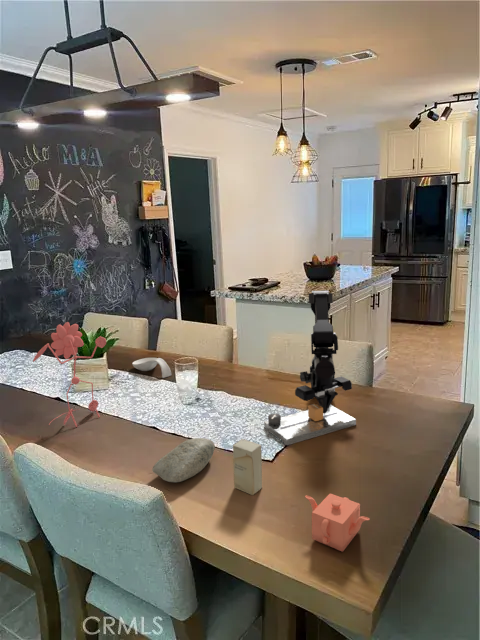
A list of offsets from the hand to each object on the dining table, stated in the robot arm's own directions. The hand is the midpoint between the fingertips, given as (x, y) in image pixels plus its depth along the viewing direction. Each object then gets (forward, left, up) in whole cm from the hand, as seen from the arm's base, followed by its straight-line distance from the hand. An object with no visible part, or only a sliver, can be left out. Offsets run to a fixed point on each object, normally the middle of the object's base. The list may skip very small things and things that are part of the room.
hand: (324, 412), depth 157 cm
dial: (+16, -4, -1) cm, 17 cm away
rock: (+49, +5, -4) cm, 50 cm away
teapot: (+31, +47, -4) cm, 56 cm away
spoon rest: (+34, -83, -4) cm, 90 cm away
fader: (+3, 0, -1) cm, 3 cm away
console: (+6, 0, -3) cm, 7 cm away
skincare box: (+39, +21, -4) cm, 44 cm away
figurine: (+72, -49, -4) cm, 87 cm away
